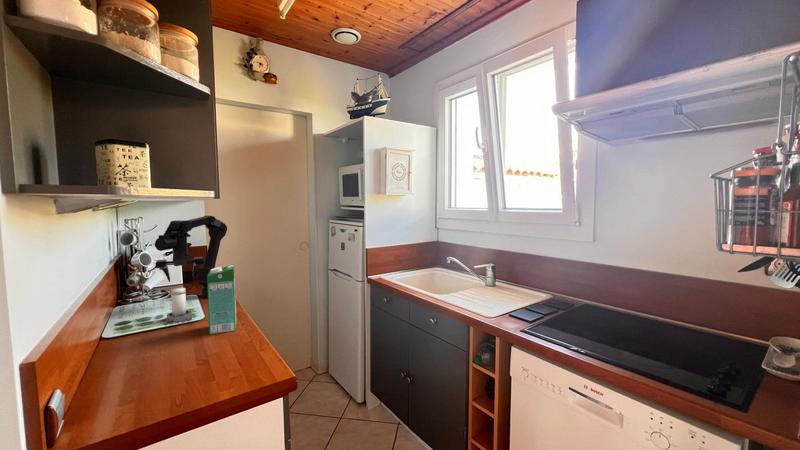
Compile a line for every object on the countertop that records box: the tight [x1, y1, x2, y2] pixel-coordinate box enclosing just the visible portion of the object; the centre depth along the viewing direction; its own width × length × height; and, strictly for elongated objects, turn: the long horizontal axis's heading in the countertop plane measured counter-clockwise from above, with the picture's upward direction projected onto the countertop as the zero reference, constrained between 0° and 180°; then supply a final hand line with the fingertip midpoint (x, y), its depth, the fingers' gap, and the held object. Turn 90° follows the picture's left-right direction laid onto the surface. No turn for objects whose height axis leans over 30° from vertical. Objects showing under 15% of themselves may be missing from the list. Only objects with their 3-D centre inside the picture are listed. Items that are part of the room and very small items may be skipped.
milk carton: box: [207, 264, 237, 335], centre depth 129 cm, size 9×9×25 cm
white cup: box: [170, 287, 187, 317], centre depth 139 cm, size 5×5×12 cm
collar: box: [165, 309, 193, 325], centre depth 139 cm, size 9×9×3 cm
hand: (181, 280), depth 153 cm, fingers open, 9 cm apart
